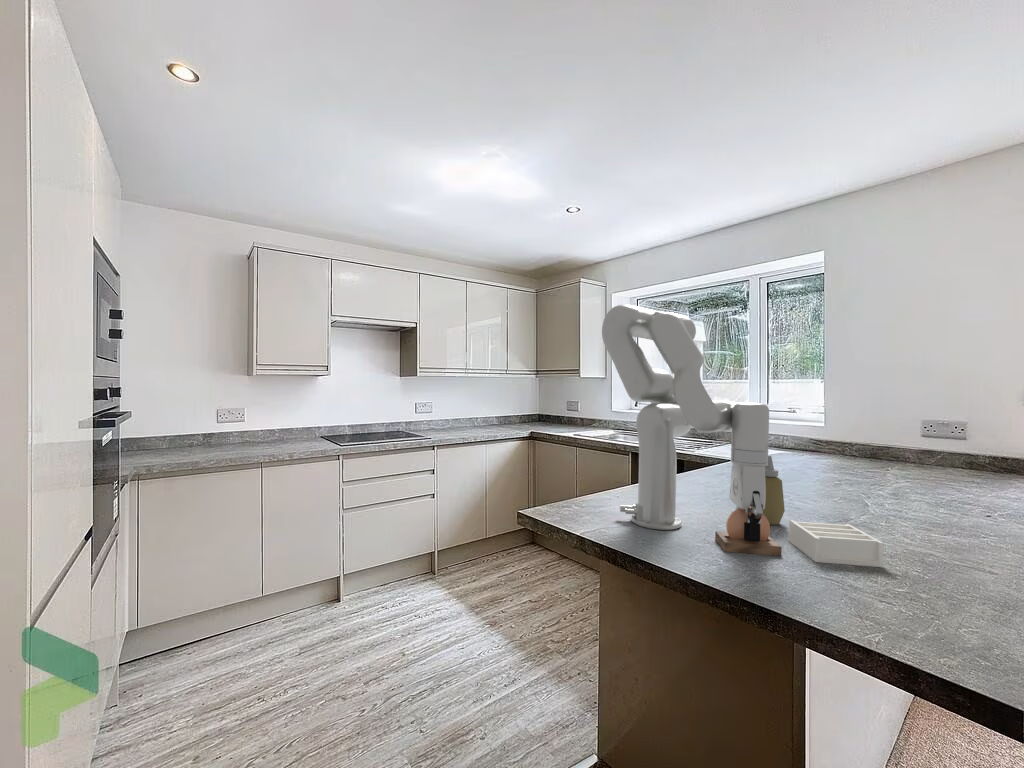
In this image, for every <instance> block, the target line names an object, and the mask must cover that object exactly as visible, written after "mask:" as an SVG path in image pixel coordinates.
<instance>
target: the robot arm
mask: <svg viewBox="0 0 1024 768" xmlns="http://www.w3.org/2000/svg"><path fill="white" fill-rule="evenodd" d="M696 335H697V328H696V324H695V323H694V321H693V320H692V319H691V318H690V317H688V316H687V315H683V314H680V313H679V314H678V313H676V312H675V313H674V312H671V311H670V312H669V311H666V312H665V311H658V310H653V309H649V308H645V307H641V306H636V305H631V304H618V305H616V306H613V307H612V308H610V310H609V311H607V313H606V314H605V316H604V319H603V322H602V327H601V338H602V341H603V344H604V347H605V349H606V351H607V353H608V354H609V356H610V358H611V360H612V363H613V364H614V367H615V370H616V372H617V374H618V376H619V378H620V381H621V382H622V384H623V387H624V389H625V391H626V393H627V395H628V397H629V398H630V399H631V400H632V401H634V402H636V403H637V402H638V403H650V404H647V405H646V406H643V407H642V408H641V409H640V411H639V412H638V414H637V417H636V422H635V423H636V424H635V425H636V427H635V428H636V433H637V441H638V491H637V492H638V494H637V496H638V497H637V501H635V504H631V505H627V504H620V505H619V512H620V513H625V514H626V515H631V521H632V523H634V524H635V525H637V526H639V527H642V528H646V529H652V530H659V531H663V530H664V531H665V530H666V531H669V530H677V529H678V528H679V529H680V528H681V527H682V520H681V519H680V518H679V517H677V516H676V509H677V508H676V507H677V505H676V504H677V503H676V499H677V472H678V471H677V467H678V466H677V460H678V458H677V448H676V444H675V440H674V438H679V437H684V436H685V435H687V434H688V433H689V432H690V430H691V429H692V428H694V429H695V430H697V432H700V433H704V434H707V433H708V434H709V433H717V432H726V431H727V432H728V431H729V432H730V431H731V438H730V439H731V442H730V443H731V444H730V445H731V447H730V448H731V449H730V462H731V463H732V465H731V474H730V484H729V500H730V501H731V502H732V503H733V504H734V505H735V510H737V509H739V508H740V509H742V510H744V509H745V515H746V522H744V540H745V541H753V542H759V541H760V524H761V516H762V515H763V510H764V508H765V499H766V485H765V467H764V466H767V465H768V456H769V438H770V437H769V432H770V431H769V430H770V408H769V406H768V405H767V404H765V403H761V402H760V403H759V402H735V401H730V400H722V399H720V400H719V399H718V400H717V399H712V398H711V396H710V395H709V393H708V391H707V390H706V387H705V386H704V384H703V381H702V379H701V367H702V366H703V364H704V362H705V358H704V356H703V354H702V352H701V351H700V349H699V348H698V346H697V344H696V343H695V341H694V339H695V338H696ZM634 338H641V339H644V340H649V341H653V343H654V345H655V347H656V348H657V350H658V352H659V353H660V355H661V357H662V359H663V360H664V361H665V364H666V365H667V367H668V369H669V372H670V373H671V374H670V373H669V372H668V371H666V370H665V369H661V368H653V367H652V366H651V364H650V363H649V361H648V359H647V358H646V355H645V353H644V351H643V349H642V348H641V347H640V346H639V344H638V343H637V342H636V340H634ZM751 506H754V509H748V507H749V508H751ZM749 512H754V513H751V515H750V513H749Z"/></svg>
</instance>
